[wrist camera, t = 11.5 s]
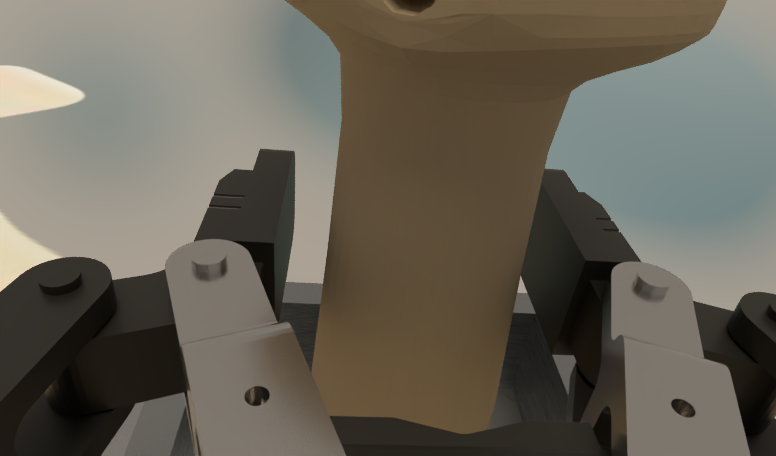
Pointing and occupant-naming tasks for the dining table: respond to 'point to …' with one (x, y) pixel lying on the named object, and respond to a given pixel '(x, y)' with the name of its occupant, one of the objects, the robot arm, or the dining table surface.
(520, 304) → the grey square tray
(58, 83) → the dining table surface
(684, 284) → the robot arm
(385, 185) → the handle
